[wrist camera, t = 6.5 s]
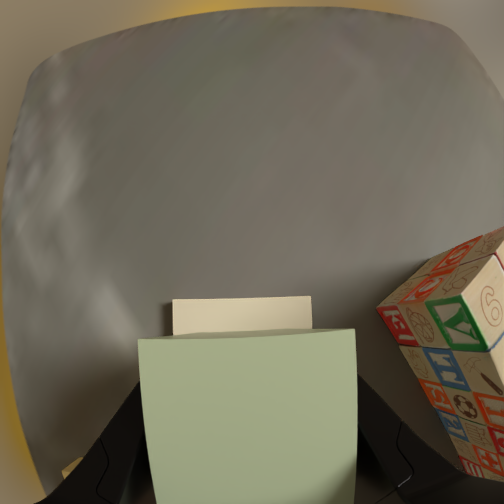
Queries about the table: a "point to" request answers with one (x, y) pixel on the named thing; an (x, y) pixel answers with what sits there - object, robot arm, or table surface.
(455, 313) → the stack of blocks
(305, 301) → the cream square slab
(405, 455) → the robot arm
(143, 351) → the sage brick
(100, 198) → the table surface
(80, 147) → the table surface
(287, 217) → the table surface
